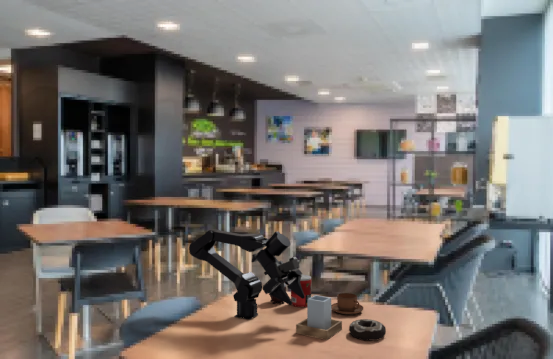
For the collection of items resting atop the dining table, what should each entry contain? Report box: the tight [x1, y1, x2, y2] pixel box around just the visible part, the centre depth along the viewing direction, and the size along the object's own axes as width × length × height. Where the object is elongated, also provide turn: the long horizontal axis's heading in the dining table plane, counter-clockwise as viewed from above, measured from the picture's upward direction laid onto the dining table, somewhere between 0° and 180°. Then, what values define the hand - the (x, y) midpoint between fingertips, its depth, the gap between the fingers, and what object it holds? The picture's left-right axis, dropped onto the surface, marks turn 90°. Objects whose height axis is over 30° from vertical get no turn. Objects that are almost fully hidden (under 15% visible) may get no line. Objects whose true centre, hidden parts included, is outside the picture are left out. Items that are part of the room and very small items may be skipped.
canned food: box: [290, 274, 312, 308], centre depth 192 cm, size 8×8×11 cm
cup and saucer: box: [331, 292, 364, 315], centre depth 184 cm, size 12×12×6 cm
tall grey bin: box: [306, 294, 332, 330], centre depth 162 cm, size 6×6×10 cm
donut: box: [348, 318, 387, 341], centre depth 159 cm, size 12×12×4 cm
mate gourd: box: [269, 283, 287, 305], centre depth 195 cm, size 8×8×15 cm
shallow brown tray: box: [295, 318, 343, 341], centre depth 162 cm, size 11×11×3 cm
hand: (297, 301), depth 166 cm, fingers open, 9 cm apart
